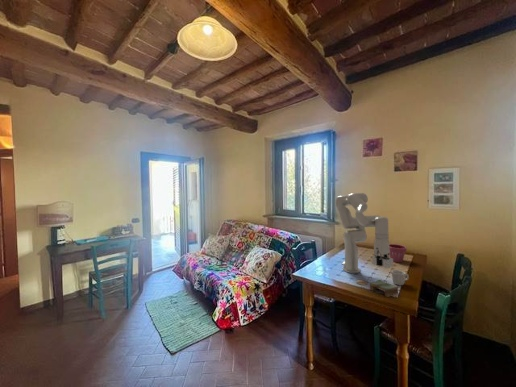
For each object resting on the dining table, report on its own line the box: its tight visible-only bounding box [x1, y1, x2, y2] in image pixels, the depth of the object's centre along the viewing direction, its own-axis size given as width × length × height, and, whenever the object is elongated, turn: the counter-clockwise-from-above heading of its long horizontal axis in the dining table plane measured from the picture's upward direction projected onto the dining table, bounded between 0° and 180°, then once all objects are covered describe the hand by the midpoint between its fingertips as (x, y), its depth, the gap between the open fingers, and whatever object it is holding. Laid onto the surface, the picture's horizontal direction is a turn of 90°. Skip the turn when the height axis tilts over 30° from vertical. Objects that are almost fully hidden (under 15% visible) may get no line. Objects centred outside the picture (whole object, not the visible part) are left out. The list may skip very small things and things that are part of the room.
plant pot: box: [389, 243, 407, 263], centre depth 197 cm, size 14×14×13 cm
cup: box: [391, 269, 409, 286], centre depth 152 cm, size 11×8×8 cm
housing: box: [371, 255, 394, 269], centre depth 144 cm, size 10×6×5 cm, turn 29°
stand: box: [369, 279, 399, 298], centre depth 142 cm, size 12×10×4 cm
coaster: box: [355, 279, 368, 286], centre depth 154 cm, size 7×7×1 cm
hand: (382, 264), depth 144 cm, fingers closed on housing, 6 cm apart
